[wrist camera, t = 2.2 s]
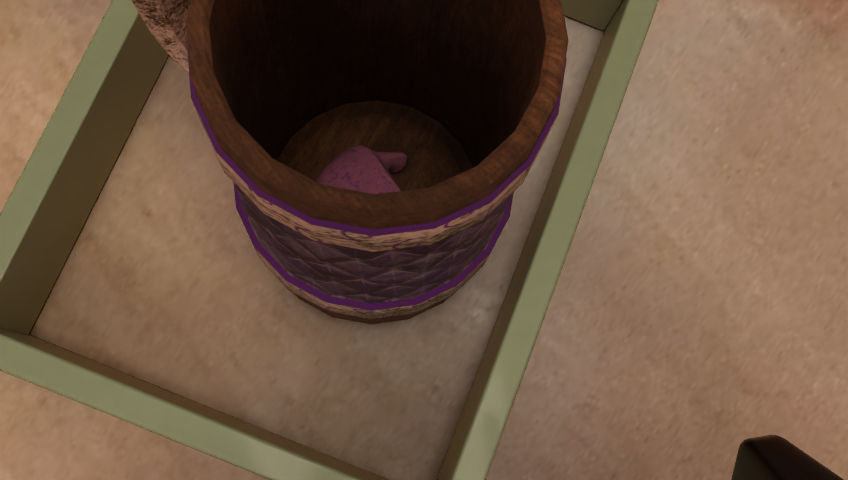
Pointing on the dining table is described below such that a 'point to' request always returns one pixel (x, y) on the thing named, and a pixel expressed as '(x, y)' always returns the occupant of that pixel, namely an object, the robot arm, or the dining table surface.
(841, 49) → the dining table surface
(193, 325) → the dining table surface
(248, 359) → the dining table surface
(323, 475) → the frame
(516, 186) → the mug
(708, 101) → the dining table surface
